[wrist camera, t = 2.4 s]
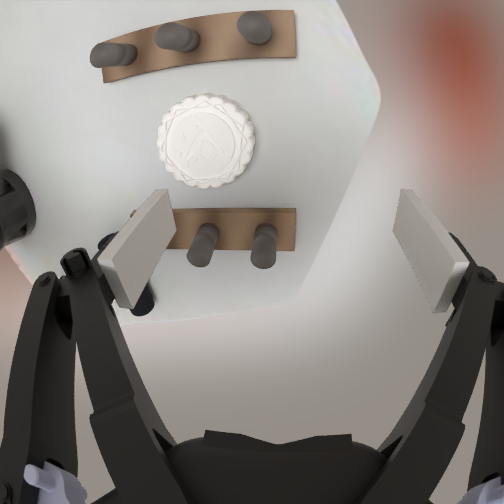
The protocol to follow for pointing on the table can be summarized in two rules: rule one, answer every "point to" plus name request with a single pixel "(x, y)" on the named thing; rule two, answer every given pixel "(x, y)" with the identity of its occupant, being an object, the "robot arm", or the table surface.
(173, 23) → the rails
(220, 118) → the mooncake
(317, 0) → the table surface
